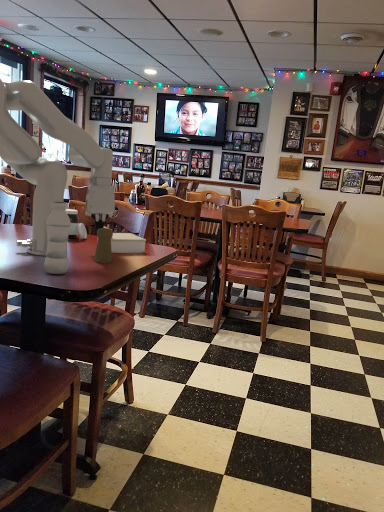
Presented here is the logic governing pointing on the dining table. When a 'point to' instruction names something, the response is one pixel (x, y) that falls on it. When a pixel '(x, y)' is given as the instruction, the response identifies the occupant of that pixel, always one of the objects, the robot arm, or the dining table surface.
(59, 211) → the plastic bottle
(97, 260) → the olive pepper mill
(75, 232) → the spread jar
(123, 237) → the lid
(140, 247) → the mailer box
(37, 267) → the dining table surface
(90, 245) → the dining table surface
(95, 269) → the dining table surface
